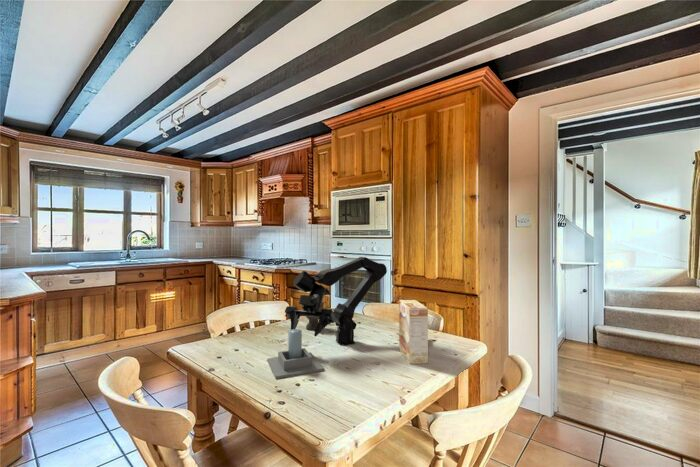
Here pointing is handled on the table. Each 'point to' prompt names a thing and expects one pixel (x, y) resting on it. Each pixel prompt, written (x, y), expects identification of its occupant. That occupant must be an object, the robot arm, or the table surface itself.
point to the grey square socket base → (294, 364)
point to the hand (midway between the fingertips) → (303, 334)
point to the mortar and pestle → (313, 321)
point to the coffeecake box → (413, 331)
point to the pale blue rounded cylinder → (294, 344)
